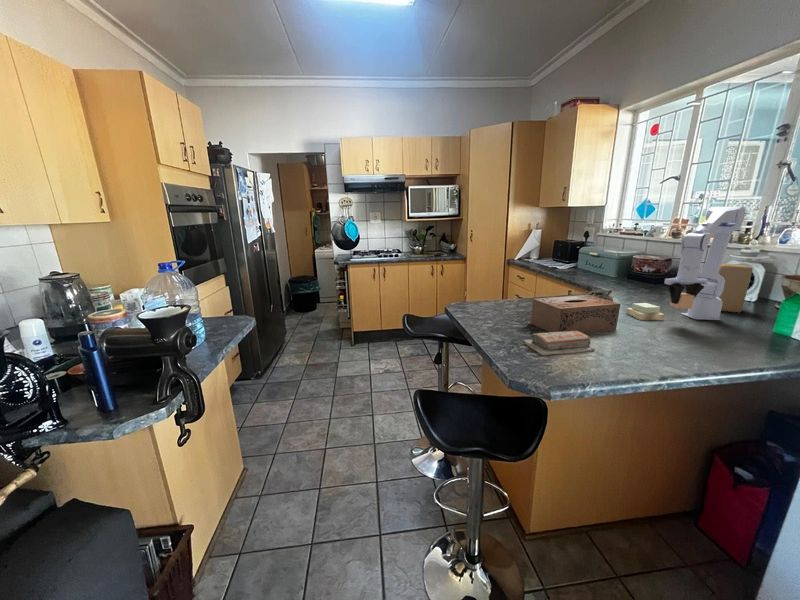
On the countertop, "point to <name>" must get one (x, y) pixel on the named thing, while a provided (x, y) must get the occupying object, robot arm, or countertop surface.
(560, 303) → the tissue box cover
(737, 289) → the wooden block
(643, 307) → the sage block
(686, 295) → the terracotta cube
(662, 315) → the maple slab
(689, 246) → the robot arm
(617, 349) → the countertop surface
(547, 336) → the packaged product
